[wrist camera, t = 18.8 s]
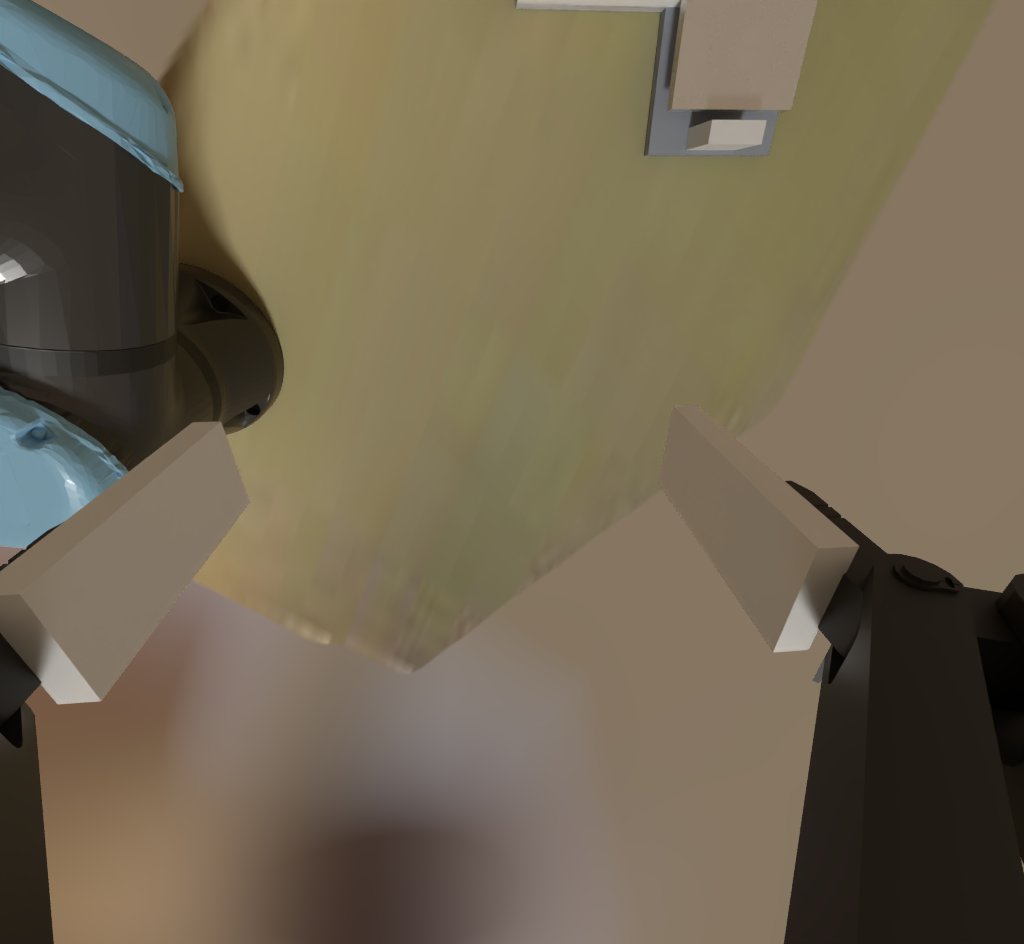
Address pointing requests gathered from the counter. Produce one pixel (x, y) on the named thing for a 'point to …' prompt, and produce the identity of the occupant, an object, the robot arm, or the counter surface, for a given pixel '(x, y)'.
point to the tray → (599, 5)
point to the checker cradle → (698, 114)
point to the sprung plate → (739, 55)
